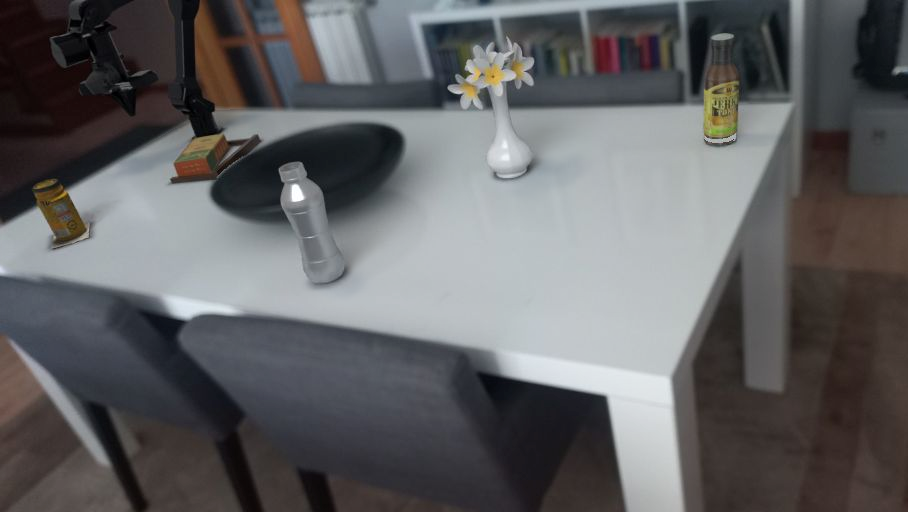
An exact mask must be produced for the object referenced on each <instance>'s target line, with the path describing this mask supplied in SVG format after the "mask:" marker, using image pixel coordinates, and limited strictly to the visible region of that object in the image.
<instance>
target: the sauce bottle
mask: <svg viewBox="0 0 908 512" xmlns="http://www.w3.org/2000/svg"><path fill="white" fill-rule="evenodd" d="M734 45H735V35H734V34H732V33H725V32H724V33H717V34H713V35H712V36H711V37H710V47H711V56H710V57H711V58H710V64H709V66H708V68H707V69H706V71H705V74H704V87H703V121H702V122H703V125H702V126H703V127H702V129H703V131H702V132H703V136H704V135H705V136H706V137H707V138H710V139H723V138H728V137H730V136H732V135H734V134H735V133H736V134H737V132H738V122H739V97H740V96H739V94H740V93H739V92H740V81H739V79H740V78H739V76H740V74H739V71H738V67H736V64H735V63H734ZM733 140H734V139H733ZM733 140H731V141H729V142H723V143H712V142H708V141H706V140H705V139H704V138H703V141H704V142H705V144H707V145H710V146H715V147H716V146H717V147H724V146H729V145H730V144H733V143H735V142H736V141H733Z"/></svg>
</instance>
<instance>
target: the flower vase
mask: <svg viewBox="0 0 908 512" xmlns="http://www.w3.org/2000/svg"><path fill="white" fill-rule="evenodd" d="M506 42H507V46H508V50H509V51H507V52H505V53H503V52H496V51H494V50H495V42H494V41H492V42H490V43H489V44H488V46H487V47H486V49H485V51H484V49H483V48H482V47H481V46H480V45H479V44H475V45H474V46H473V48H472V52H473V56H474V58H473V59H467V61H466V65H465V66H464V71H466V72H469V73H471V74H470V75H468V76H467V77H466V78H464V77H463V76H462V75H461V74H459V73H456V74H455V76H454V77H455V81H456V82H457V83H458V84H449V85H448V86H447V90H448V91H449V92H451V93H452V94H456V95H461V97H460V107H461V108H462V109H463V110H467V109H469V107H470V106H471V103H473V105H474V106H475V107H476V108H477V109H479V110H483V109H484V106H483V103H482V101H481V99H480V96H479V94H480V92H481V90H482V89H485V88H487V91H488V95H489V97H490V101H491V105H492V113H493V119H494V135H493V136H494V137H493V141H492V143H491V144H490V146H488V148H487V151H486V153H485V163H486V166H487V167H488V168H489V169H490V170H491V171H493V172H495V174H496V176H497V177H498V178H501V179H515V178H518V177H521V176H523V175H524V174H525V173H527V171H528V166H529V165H530V163H532V160H533V158H534V157H533V156H534V152H533V149H532V147H531V146H530V145H529V143H528V142H527V141H526V140H524V139H523V138H521V137H520V136H519V134H518V133H517V131H516V129H515V127H514V124H513V121H512V117H511V112H510V107H509V103H508V102H509V101H508V94H507V93H508V91H507V90H508V88H507V87H508V86H507V83H508V82H510V81H514V85H515V88H516V89H517V90H520V89H521V87H522V86H523V85H522V82H524V83H525V84H526V85H528V86H530V87H533V86H534V85H535V81H534V79H533V77H532V75H531V74H530V73H529V72H527V71H529V70H530V69H532V68H533V66H534V64H535V59H534V57H532V56H528V57H526V56H523V51H522V48H521V46H520V45H519V44H518V43H517V42H514V43H513V44H512V42H511V39H510V38H509V37H508V36H507V35H506ZM505 66H507V68H508V69H507V68H505V69H503V68H504V67H505Z"/></svg>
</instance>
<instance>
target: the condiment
mask: <svg viewBox="0 0 908 512" xmlns="http://www.w3.org/2000/svg"><path fill="white" fill-rule="evenodd" d="M31 191H32V193H33V194H34V197H35V199H36V205H37V206H38V208H39V210H40V212H41V214H42V215H43V217H44V219H45V220H46V222H47V224H48V225H49V227H50V230H51V232H52V233H53V238H52V242H51V247H50V249H55V248H59V247H64V246H67V245H71V244H75V243H76V242H78V241H83V240H84V239H88V238H89V237H90V227H91V226H90V224H91V223H90V222H88V223H84V221H83V219H82V217H81V215H80V213H79V212H78V211H79V210H78V209H77V207H76V206H75V204H74V201H73V200H72V198H71V196H70V194H69V192H68V191H67V190H65V189H64V186H63V185H62V184H61V182H60V180H59V179H57V178H50V179H46V180H43V181H40V182H39V183H36V184H35V185H34V186H33V187H31Z"/></svg>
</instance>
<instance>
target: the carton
mask: <svg viewBox="0 0 908 512" xmlns="http://www.w3.org/2000/svg"><path fill="white" fill-rule="evenodd" d="M227 141H228V140H227V138H226V135H225V134H224V133H218V134H216V135H211V136H205V137H200V138H195V139H193V140H192V139H191V141H190V142H189V144H188V145H187V146H186V147H185V148H184V149H183V151H182V152H180V154H179V155H178V156H177V157H176V159H175V160H174V161H173V163H172V164H173V167H174V170H175V172H176V176H187V175H197V174H207V173H212V171H213V170H214V169H215V168H217V167H218V165H219V164H220V161H221V160H222V158H223V157H224V155H225V154H226V153H227V151H228V150H229V149H230V146H229V145H228V142H227Z"/></svg>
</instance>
